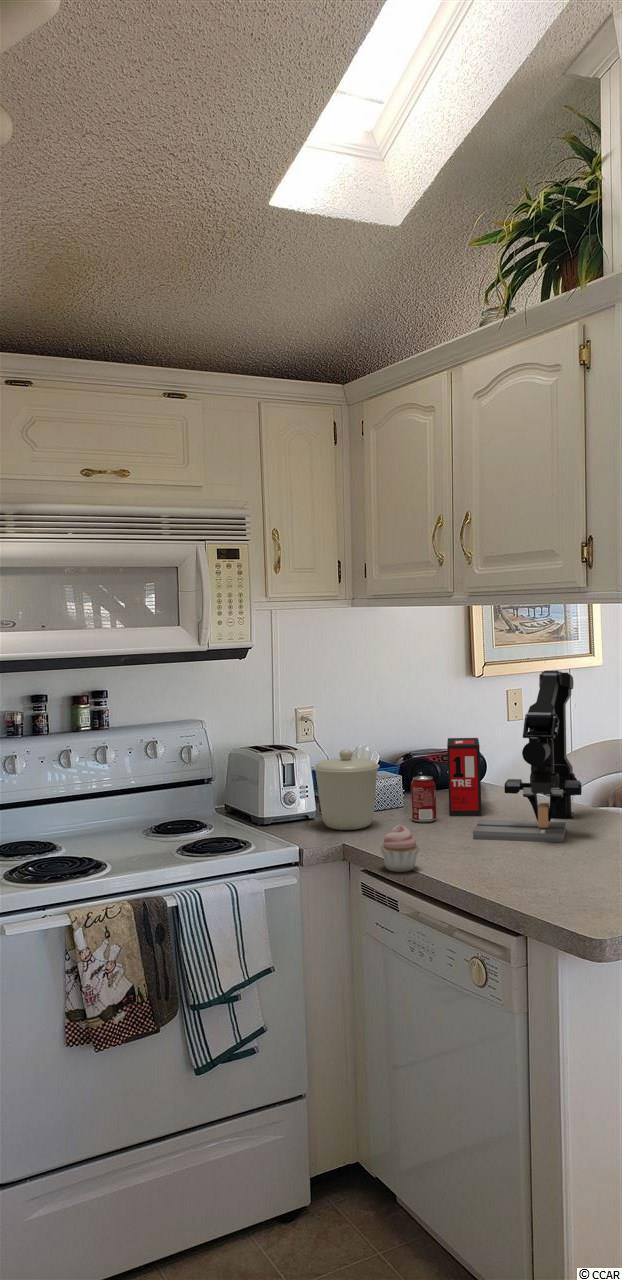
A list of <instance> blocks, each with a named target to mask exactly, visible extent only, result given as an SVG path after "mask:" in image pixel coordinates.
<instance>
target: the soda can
mask: <svg viewBox="0 0 622 1280" xmlns="http://www.w3.org/2000/svg"><path fill="white" fill-rule="evenodd" d="M433 779H434V778H433V776H430V775H429V776H428V775H419V776H418V775H417V776H414V777H412V781H411V783H410V801H411V802H410V803H411V808H410V809H411V819H412V820H413V821H414V822H415V823H419V824H420V823H421V824H427V823H433V822H434V821H436V819H437V796H436V795H437V794H436V792H437V791H436V788H437V787H436V783H435V781H434V780H433Z"/></svg>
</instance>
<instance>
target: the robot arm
mask: <svg viewBox="0 0 622 1280" xmlns="http://www.w3.org/2000/svg"><path fill="white" fill-rule="evenodd" d="M538 679H539V681H538V683H539V685H538V688H539V689H538V690H539V691H538V694H537V698H536V701H535V703H533V704H531V705H529V708H528V711H527V713H526V714H524V715H525V716H524V722H523V732H522V739H528V743H526V744H525V745H524V746H523V749H522V751H521V756H522V758H523V760H524V761H525V762H526V763H527V764H528V765H530V775H529V782H523V780H522V779H519V778H516V779H515V778H508V779H507V780H505V783H504V789H503V790H504V794H515V795H517V794H519V792H520V791H522V792H523V794H522V797H523V798H527V799H528V801H529V803H530V804H531V807H532V810H533V812H534V815H535V819H536V821H538V805H539V802H538V796H537V794H543V795H549V815H548V818H549V822H551V821H552V818H554V819H557V818H558V819H559V818H562V819H573V818H574V811H572V796H581V795H582V793H583V791H582V788H583V785H582V782H581V781H580V780H578V779H577V778H576V775H575V773H574V771H573V770H574V768H573V765H572V764H571V762H570V761H569V759H568V757H567V719H566V718H567V715H566V714H567V710H566V706H567V705H566V704H567V703H568V701H569V700H570V698H571V696H572V690H573V689H574V685H575V684H574V676H573V675H572V674H569V672H566V671H565V672H562V671H559V670H544V671H541V673H540V674H539V678H538Z"/></svg>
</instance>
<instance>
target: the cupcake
mask: <svg viewBox="0 0 622 1280" xmlns="http://www.w3.org/2000/svg"><path fill="white" fill-rule="evenodd" d="M378 848H379V850H380V853H381V855H382V856H383V862H384V866H385V868H386V870H387V871H390V872H394V873H395V872H396V873H405V872H409V871H410V872H411V871H413V870H414V868H415V866H416V862H417V858H418V855H419V852H420V851H421V847H420V845H418V844H417V841H416V839H415V837H414V836H413V834H412V833H411V831H410V829H408V828H407V827H405V826H404V825H401V823H400V824H398V825H396V826H394V827H393V828H392V829H391V830H390V832H387V833H386V834H385V835H384V837H383V842H382V845H380V846H378Z"/></svg>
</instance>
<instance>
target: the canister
mask: <svg viewBox="0 0 622 1280" xmlns="http://www.w3.org/2000/svg"><path fill="white" fill-rule="evenodd" d="M312 769H313V771H315V778H316V783H317V786H316V787H317V792H318V799H319V800H318V801H319V806H320V812H321V817H322V820H323V821H322V822H323V823H324V825H326V827H327V828H329V829H332V830H339V831H354V830H361V829H365V828H368V827H369V826H370V825H371V823H372V822H373V820H374V819H373V818H374V816H375V815H374V814H375V804H376V793H377V779H378V778H377V777H378V769H380V764H378V763H376V762H375V761H374V760H371V759H369V758H368V759H367V758H362V757H353V752H352V750H350V749H348V748H344V749H340V751H339V757H337V758H329V759H325V760H321V761H319V762H318V763H317V764H316V765H314V766H313V767H312Z"/></svg>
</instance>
